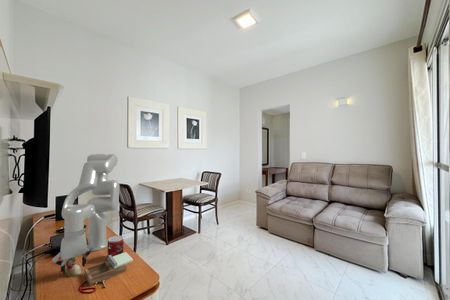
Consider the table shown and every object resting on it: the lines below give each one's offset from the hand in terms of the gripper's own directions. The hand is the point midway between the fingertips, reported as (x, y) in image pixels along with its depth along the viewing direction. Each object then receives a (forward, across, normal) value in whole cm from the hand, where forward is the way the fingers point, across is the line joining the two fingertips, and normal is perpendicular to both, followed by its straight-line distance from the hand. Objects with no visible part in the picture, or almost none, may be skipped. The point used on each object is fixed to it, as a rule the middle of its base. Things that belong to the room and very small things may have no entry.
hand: (73, 268), depth 93 cm
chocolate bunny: (+3, 0, 0) cm, 3 cm away
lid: (-1, -18, +11) cm, 21 cm away
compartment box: (+2, -11, +11) cm, 16 cm away
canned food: (+3, -19, -1) cm, 19 cm away
